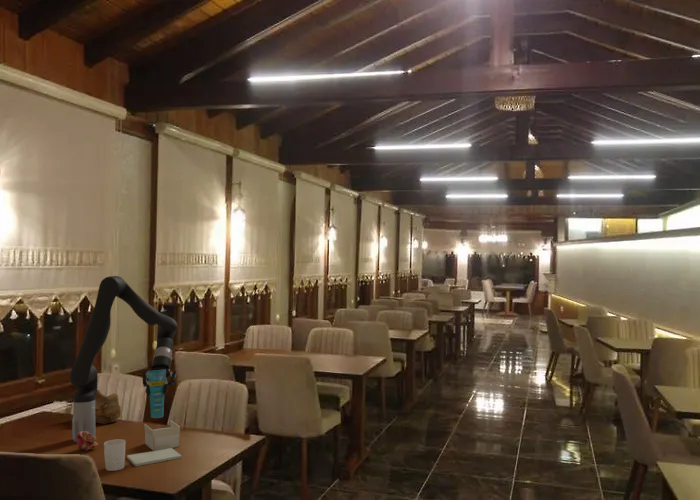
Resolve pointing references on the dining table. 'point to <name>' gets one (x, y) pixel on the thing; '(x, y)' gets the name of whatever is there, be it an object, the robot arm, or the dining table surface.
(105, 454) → the white cup
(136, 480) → the dining table surface
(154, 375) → the tube
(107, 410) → the rough brown rock
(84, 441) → the flower
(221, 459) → the dining table surface
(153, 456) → the tile
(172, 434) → the carton
